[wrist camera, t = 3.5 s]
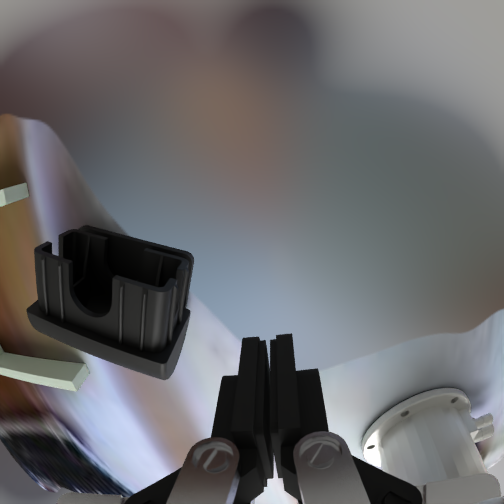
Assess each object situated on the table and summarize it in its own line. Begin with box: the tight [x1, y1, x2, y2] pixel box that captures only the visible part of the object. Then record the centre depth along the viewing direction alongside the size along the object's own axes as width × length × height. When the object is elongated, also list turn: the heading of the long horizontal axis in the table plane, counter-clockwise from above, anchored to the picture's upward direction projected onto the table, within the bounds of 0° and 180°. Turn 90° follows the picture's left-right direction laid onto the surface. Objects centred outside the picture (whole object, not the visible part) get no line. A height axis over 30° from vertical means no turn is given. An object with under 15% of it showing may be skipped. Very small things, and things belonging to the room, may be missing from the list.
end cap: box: [27, 225, 194, 380], centre depth 19 cm, size 10×7×7 cm
